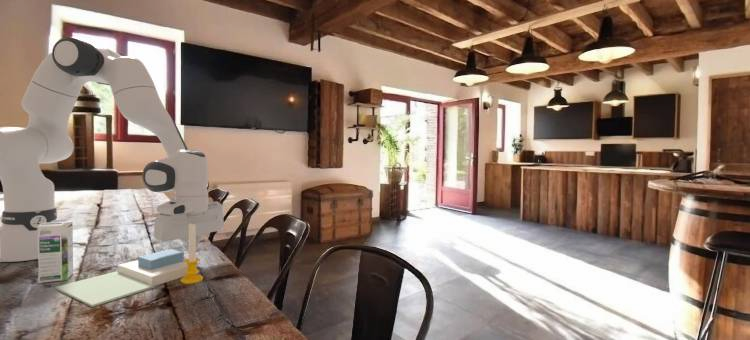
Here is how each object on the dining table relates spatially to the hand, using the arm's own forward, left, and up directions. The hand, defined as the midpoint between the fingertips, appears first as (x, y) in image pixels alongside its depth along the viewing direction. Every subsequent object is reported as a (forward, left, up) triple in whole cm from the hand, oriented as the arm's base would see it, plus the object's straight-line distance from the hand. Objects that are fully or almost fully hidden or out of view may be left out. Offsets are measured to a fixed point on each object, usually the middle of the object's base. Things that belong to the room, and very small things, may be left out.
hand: (191, 250), depth 106 cm
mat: (0, -22, -4) cm, 23 cm away
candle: (+12, -8, -4) cm, 15 cm away
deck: (0, -10, -4) cm, 11 cm away
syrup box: (-17, -26, -4) cm, 31 cm away
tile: (0, -9, -2) cm, 9 cm away
